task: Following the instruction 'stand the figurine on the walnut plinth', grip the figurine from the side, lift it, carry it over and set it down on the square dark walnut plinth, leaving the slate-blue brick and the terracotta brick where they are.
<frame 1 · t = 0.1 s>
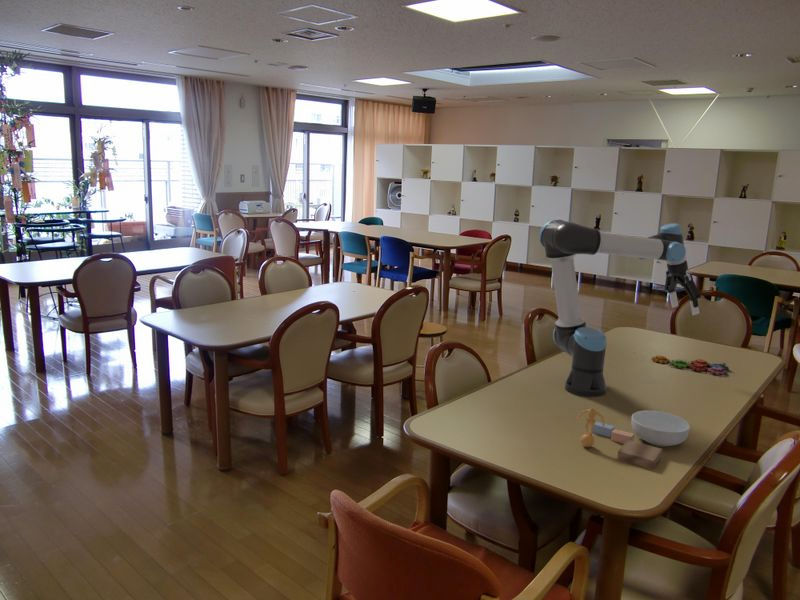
hand: (685, 310, 258), 28 cm above the table, tool tilted 20°, fingers open, 13 cm apart
figurine: (587, 445, 192), on the table
walnut plinth: (639, 459, 185), on the table
cereal bowl: (657, 441, 197), on the table
gear puzzle: (688, 367, 278), on the table
terracotta brick: (621, 441, 196), on the table
slate-blue brick: (602, 434, 202), on the table
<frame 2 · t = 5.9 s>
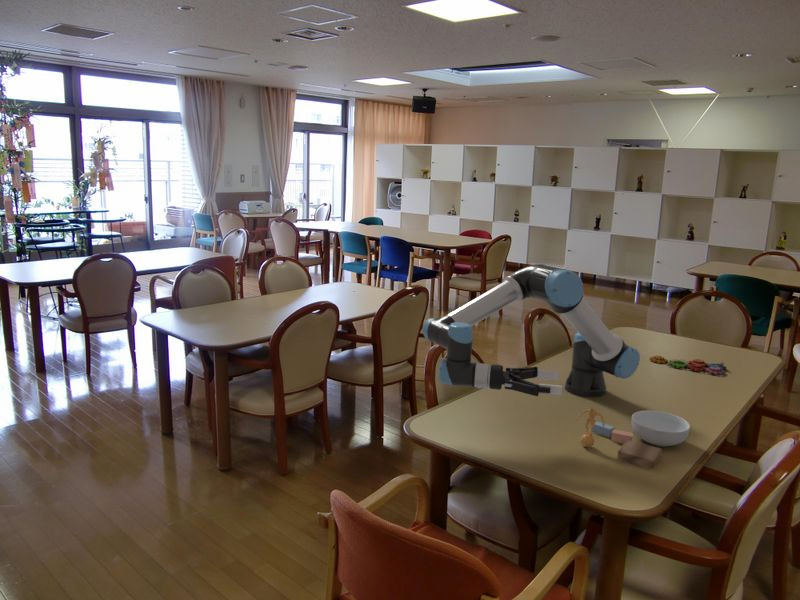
hand: (560, 383, 190), 19 cm above the table, tool horizontal, fingers open, 13 cm apart
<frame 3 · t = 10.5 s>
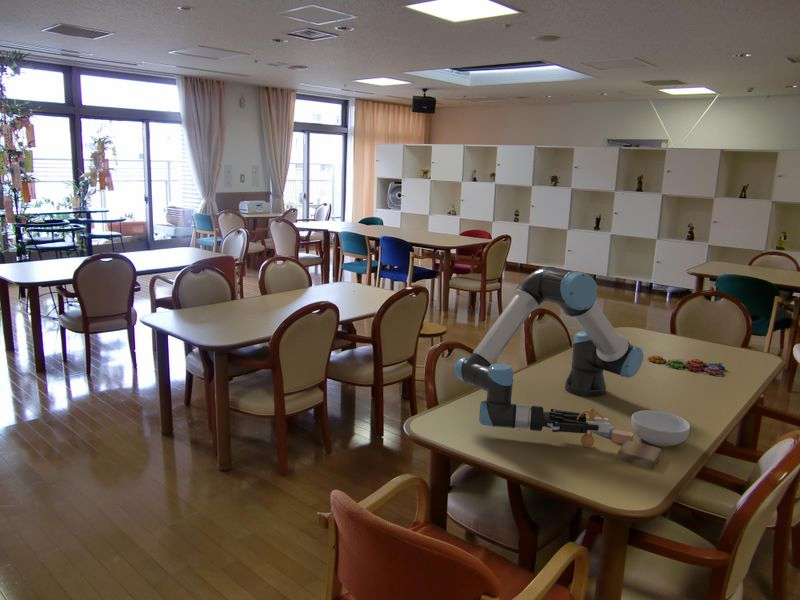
hand: (608, 425, 190), 7 cm above the table, tool horizontal, fingers closed on figurine, 3 cm apart
figurine: (587, 445, 192), on the table, touching gripper
when the fingers open (12 cm above the table, at t = 14.3 s): figurine stays where it is, point 2 cm above the table.
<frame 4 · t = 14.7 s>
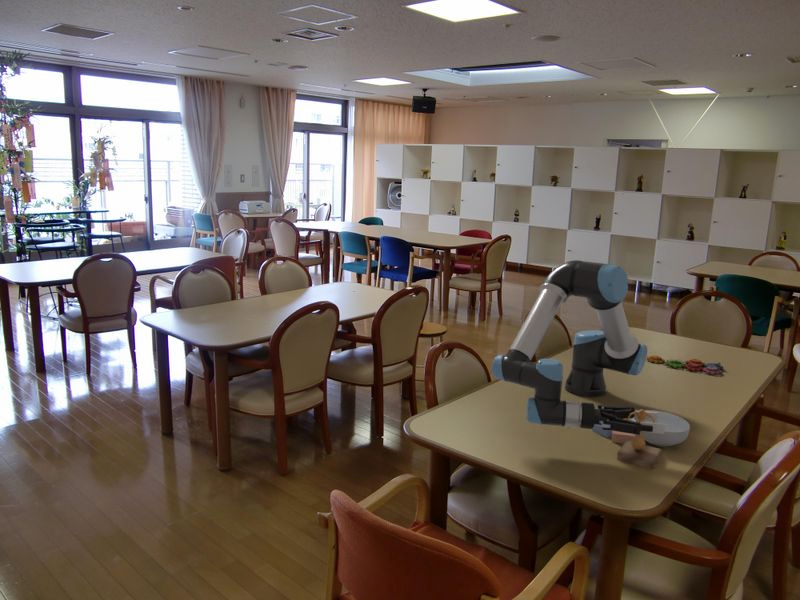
hand: (660, 422, 182), 11 cm above the table, tool horizontal, fingers open, 8 cm apart
figurine: (636, 448, 186), point 2 cm above the table
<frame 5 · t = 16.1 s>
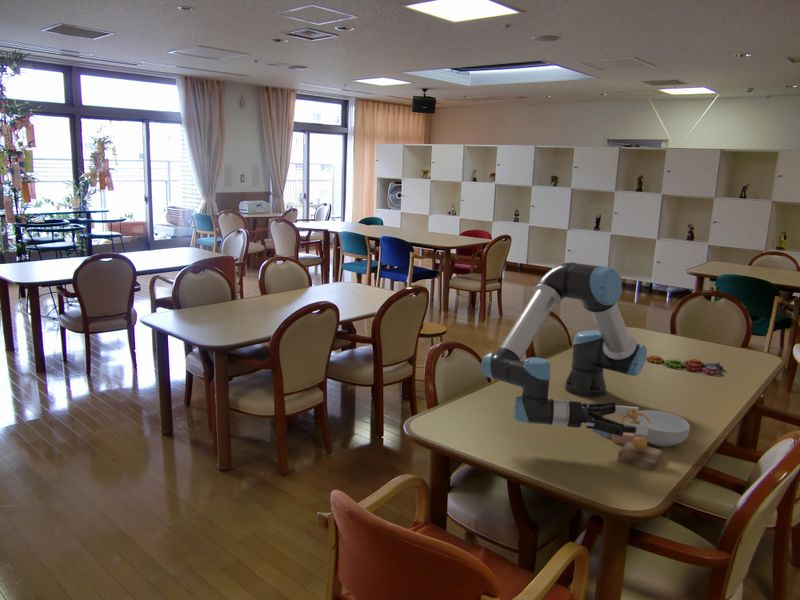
hand: (642, 420, 182), 12 cm above the table, tool horizontal, fingers open, 13 cm apart
figurine: (640, 450, 184), point 2 cm above the table
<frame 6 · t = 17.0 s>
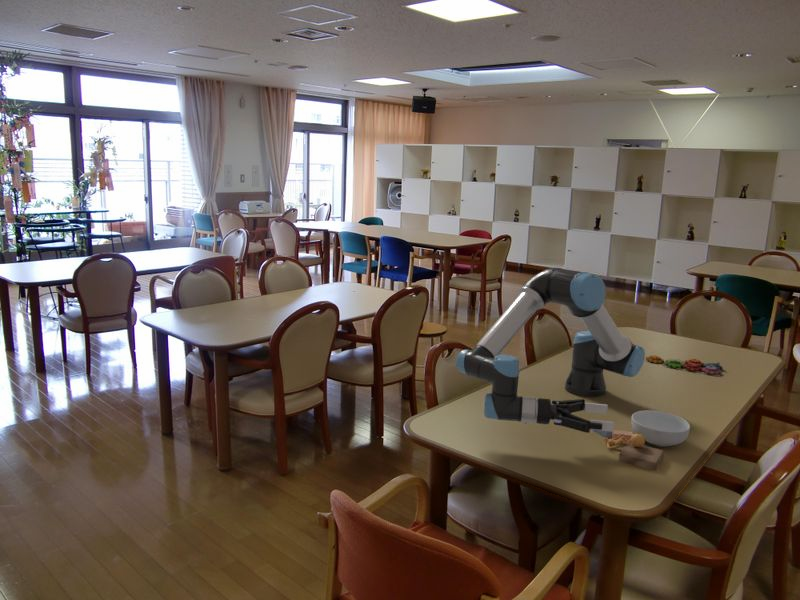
hand: (610, 417, 184), 12 cm above the table, tool horizontal, fingers open, 13 cm apart
figurine: (645, 445, 185), point 4 cm above the table
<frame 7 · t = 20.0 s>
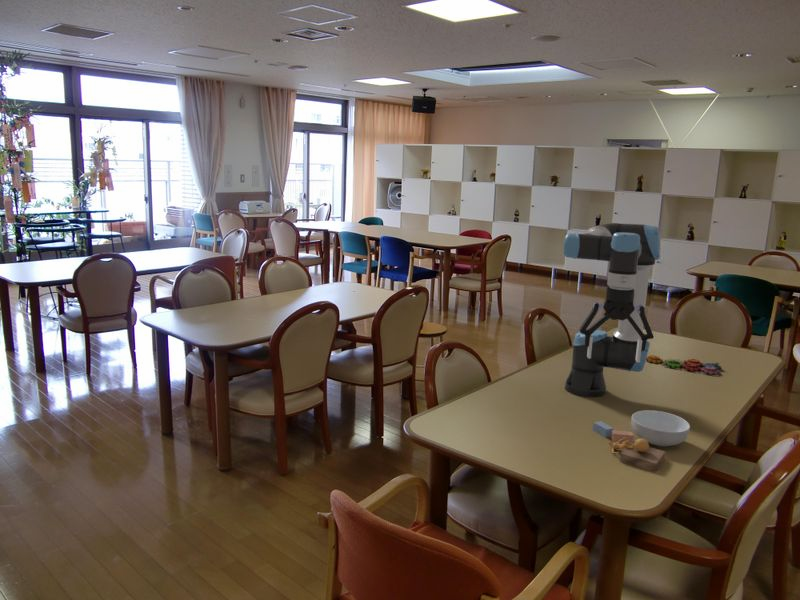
hand: (613, 359, 183), 29 cm above the table, tool pointing down, fingers open, 13 cm apart
figurine: (649, 449, 182), point 4 cm above the table, touching walnut plinth
walnut plinth: (642, 462, 184), on the table, touching figurine
at the end: figurine inside the target area on the walnut plinth (1.6 cm from its centre), point 4.2 cm above the walnut plinth's base; slate-blue brick moved 0.7 cm from its start; terracotta brick moved 0.6 cm from its start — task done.
